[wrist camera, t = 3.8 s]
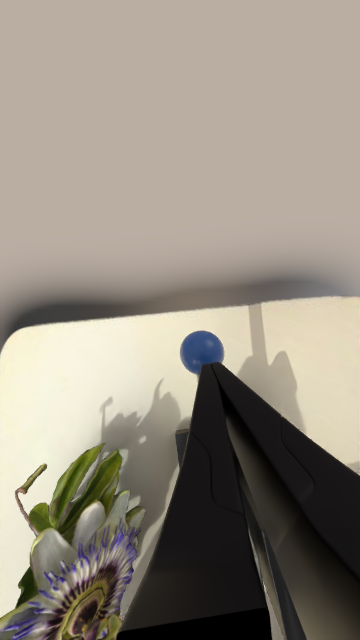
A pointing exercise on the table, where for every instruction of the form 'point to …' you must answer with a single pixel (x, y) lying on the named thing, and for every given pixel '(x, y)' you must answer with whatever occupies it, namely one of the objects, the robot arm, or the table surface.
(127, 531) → the passion flower
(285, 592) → the black lever base
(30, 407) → the table surface
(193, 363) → the tap lever
